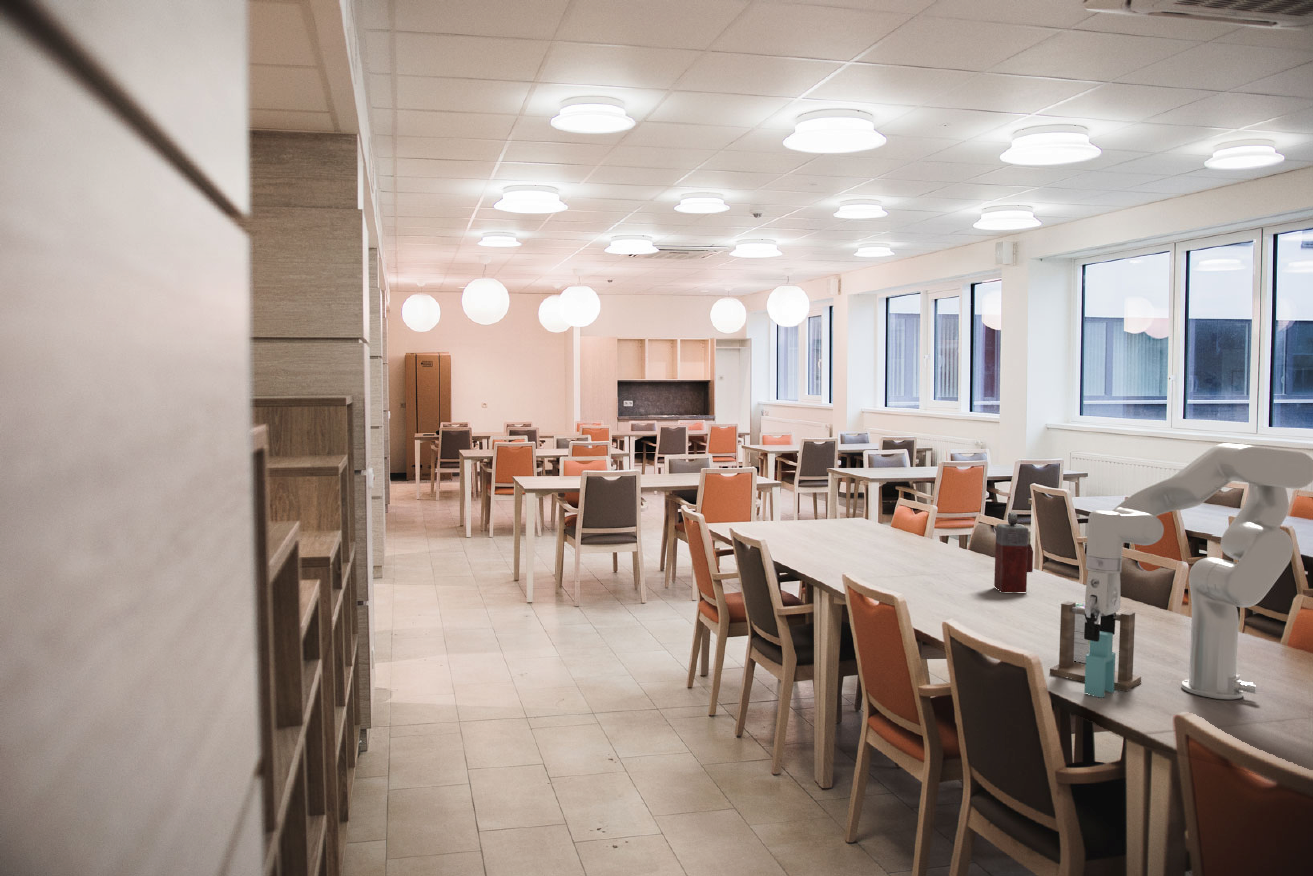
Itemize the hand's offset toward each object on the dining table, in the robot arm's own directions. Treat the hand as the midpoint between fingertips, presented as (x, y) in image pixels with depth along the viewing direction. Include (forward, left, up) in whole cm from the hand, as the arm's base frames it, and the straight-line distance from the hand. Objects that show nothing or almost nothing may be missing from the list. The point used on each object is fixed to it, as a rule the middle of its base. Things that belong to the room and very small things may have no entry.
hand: (1099, 637), depth 219 cm
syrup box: (+14, -25, -13) cm, 32 cm away
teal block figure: (0, 0, -13) cm, 13 cm away
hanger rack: (+5, -11, -13) cm, 18 cm away
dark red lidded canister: (+65, -99, -13) cm, 119 cm away
